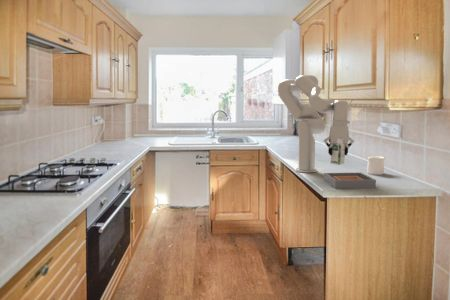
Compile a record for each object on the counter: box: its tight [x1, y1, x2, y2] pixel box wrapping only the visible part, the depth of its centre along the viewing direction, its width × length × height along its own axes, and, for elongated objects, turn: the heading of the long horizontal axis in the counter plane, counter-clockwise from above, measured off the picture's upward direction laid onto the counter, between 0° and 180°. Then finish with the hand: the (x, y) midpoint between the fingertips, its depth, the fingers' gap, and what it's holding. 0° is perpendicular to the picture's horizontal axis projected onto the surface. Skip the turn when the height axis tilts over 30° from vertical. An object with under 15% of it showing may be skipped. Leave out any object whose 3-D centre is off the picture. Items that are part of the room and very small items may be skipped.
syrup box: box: [329, 138, 346, 166], centre depth 226 cm, size 6×6×14 cm
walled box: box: [323, 172, 377, 189], centre depth 210 cm, size 20×20×4 cm
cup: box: [366, 155, 385, 176], centre depth 238 cm, size 10×10×10 cm
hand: (337, 154), depth 226 cm, fingers closed on syrup box, 7 cm apart
